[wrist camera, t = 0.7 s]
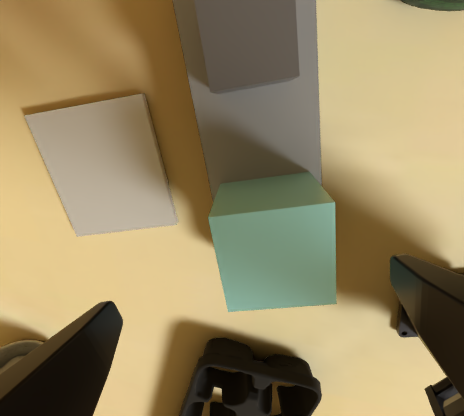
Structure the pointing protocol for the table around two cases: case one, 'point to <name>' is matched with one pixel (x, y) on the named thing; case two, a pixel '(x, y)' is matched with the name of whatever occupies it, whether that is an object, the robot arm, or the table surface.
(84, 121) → the mat
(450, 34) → the table surface
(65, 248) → the table surface
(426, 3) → the coffee jar
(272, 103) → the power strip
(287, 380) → the egg carton
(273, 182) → the green block
